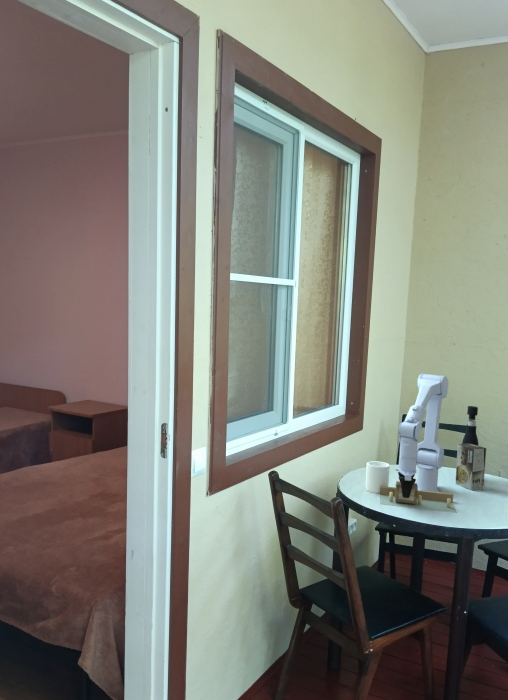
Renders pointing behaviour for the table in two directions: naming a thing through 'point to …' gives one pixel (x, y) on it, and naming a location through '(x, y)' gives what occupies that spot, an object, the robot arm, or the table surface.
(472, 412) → the wine bottle
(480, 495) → the table surface
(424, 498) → the board
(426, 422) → the robot arm
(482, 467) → the coffee box
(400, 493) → the frame
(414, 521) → the table surface
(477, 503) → the table surface
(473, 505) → the table surface
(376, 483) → the mug
